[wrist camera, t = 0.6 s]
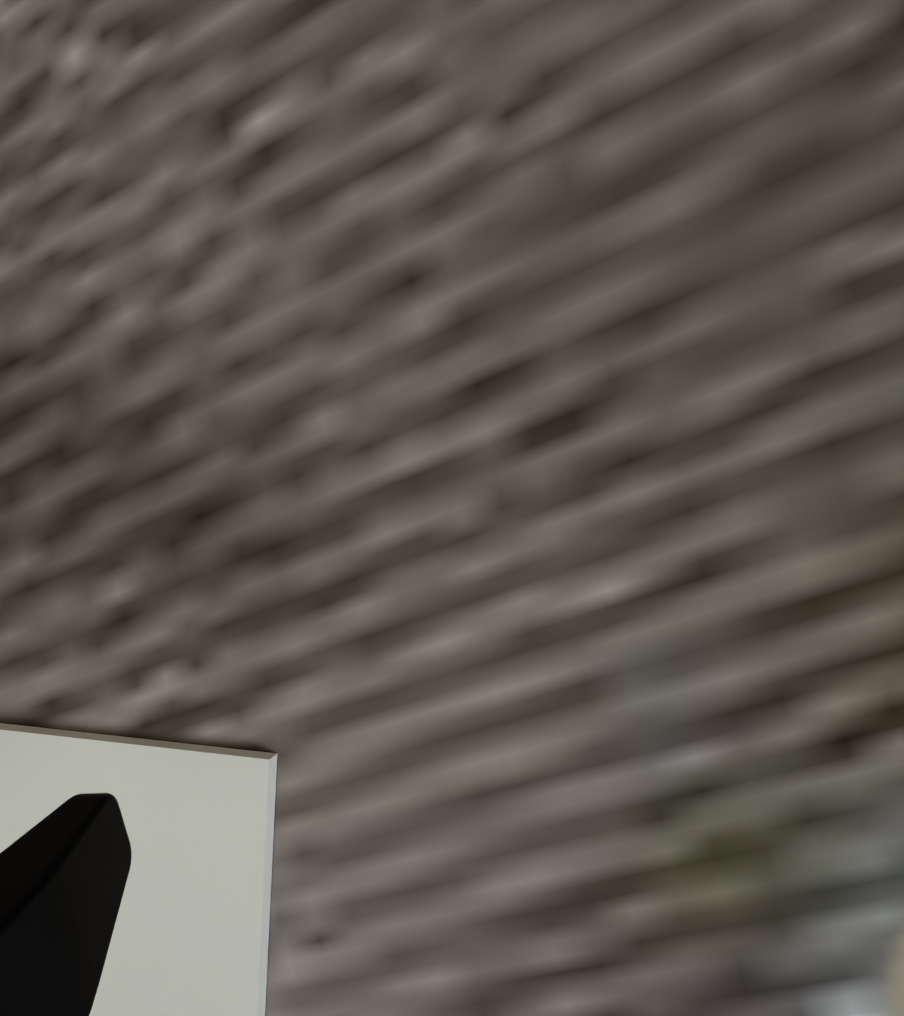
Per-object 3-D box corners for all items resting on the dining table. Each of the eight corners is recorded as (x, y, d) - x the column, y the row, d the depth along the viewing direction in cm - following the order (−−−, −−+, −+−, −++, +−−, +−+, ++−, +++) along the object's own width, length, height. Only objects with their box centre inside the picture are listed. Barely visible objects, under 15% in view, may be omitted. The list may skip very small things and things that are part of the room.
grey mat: (277, 753, 25) (269, 759, 24) (258, 1149, 25) (250, 1165, 24) (-72, 715, 27) (-87, 719, 26) (-87, 1080, 27) (-102, 1093, 26)
